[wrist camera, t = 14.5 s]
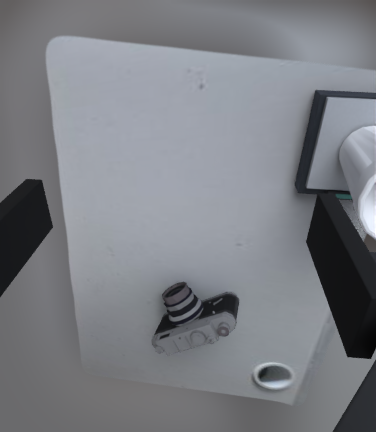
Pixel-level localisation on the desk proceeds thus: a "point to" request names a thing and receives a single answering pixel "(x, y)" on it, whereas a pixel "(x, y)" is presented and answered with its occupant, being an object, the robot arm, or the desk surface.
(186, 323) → the camera
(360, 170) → the cup
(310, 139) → the scale
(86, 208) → the desk surface
